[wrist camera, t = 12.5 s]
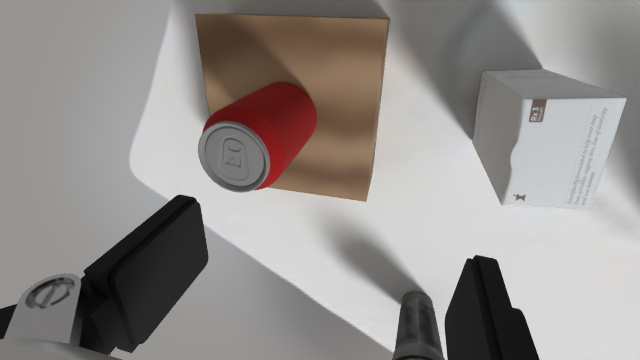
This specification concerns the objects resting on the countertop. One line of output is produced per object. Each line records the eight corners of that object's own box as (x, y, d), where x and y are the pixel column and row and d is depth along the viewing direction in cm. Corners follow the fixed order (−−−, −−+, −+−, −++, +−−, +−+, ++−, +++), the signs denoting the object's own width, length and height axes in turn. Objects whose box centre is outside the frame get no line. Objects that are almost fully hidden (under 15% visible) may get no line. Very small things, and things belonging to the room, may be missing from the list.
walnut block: (230, 13, 36) (194, 13, 30) (389, 18, 33) (385, 19, 27) (244, 157, 45) (218, 180, 39) (372, 174, 41) (366, 201, 35)
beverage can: (255, 136, 35) (190, 188, 25) (258, 73, 32) (186, 102, 21) (314, 150, 34) (273, 210, 24) (324, 87, 31) (282, 125, 20)
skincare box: (527, 143, 35) (594, 217, 22) (467, 142, 37) (499, 212, 24) (545, 63, 31) (639, 97, 19) (478, 65, 33) (523, 99, 20)
